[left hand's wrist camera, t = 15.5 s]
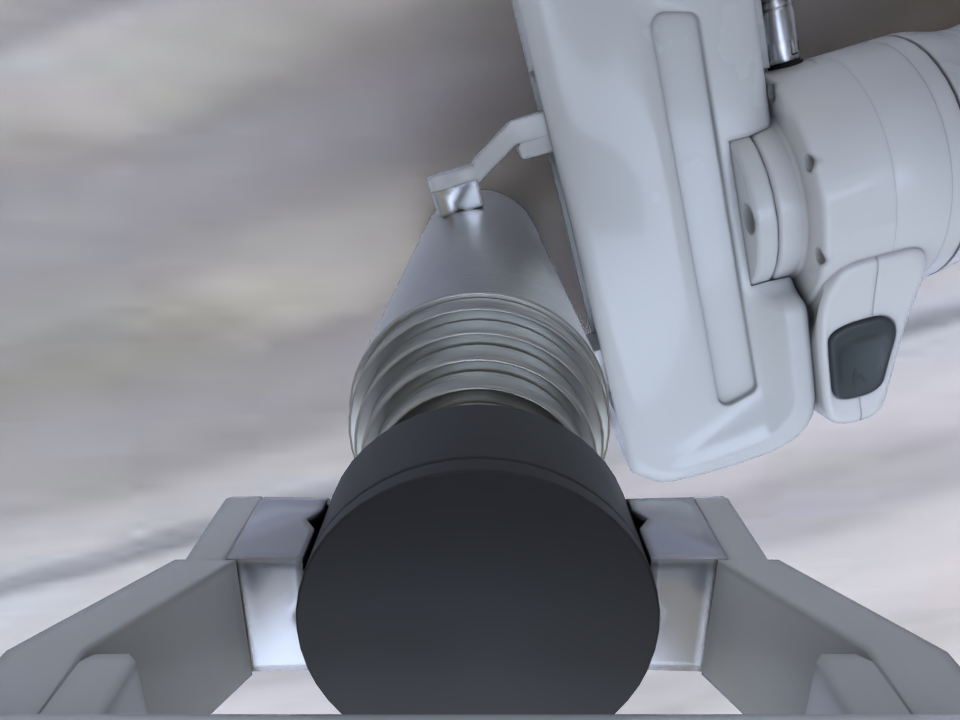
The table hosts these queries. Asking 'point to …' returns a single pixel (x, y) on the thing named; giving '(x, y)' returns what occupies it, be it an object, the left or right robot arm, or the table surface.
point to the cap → (478, 574)
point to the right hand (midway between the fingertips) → (459, 283)
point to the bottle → (480, 332)
